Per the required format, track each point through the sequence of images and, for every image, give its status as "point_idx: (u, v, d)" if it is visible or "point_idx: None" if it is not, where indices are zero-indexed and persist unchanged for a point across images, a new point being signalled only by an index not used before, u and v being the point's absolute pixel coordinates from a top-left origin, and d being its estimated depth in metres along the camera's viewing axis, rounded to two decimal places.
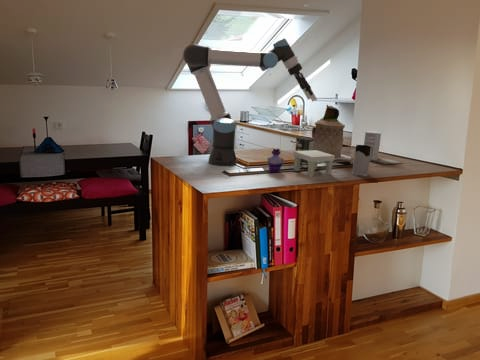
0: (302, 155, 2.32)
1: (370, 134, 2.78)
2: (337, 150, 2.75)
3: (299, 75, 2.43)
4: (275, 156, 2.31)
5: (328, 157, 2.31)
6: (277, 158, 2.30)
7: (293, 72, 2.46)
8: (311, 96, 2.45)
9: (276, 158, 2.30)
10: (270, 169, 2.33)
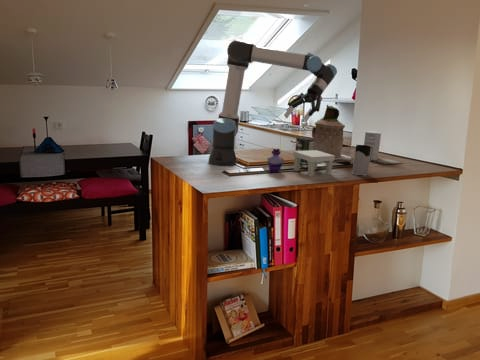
0: (302, 155, 2.32)
1: (370, 134, 2.78)
2: (337, 150, 2.75)
3: (320, 96, 2.35)
4: (275, 156, 2.31)
5: (328, 157, 2.31)
6: (277, 158, 2.30)
7: (317, 90, 2.37)
8: (307, 115, 2.31)
9: (276, 158, 2.30)
10: (270, 169, 2.33)
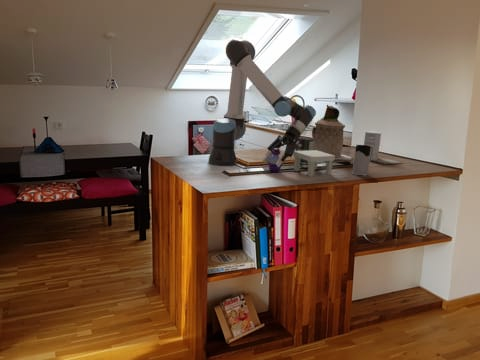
0: (302, 155, 2.32)
1: (370, 134, 2.78)
2: (337, 150, 2.75)
3: (297, 141, 2.31)
4: (275, 156, 2.31)
5: (328, 157, 2.31)
6: (277, 158, 2.30)
7: (295, 133, 2.33)
8: (280, 160, 2.28)
9: (276, 158, 2.30)
10: (270, 169, 2.33)
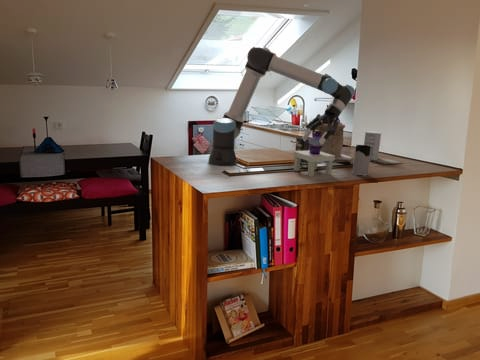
0: (302, 155, 2.32)
1: (370, 134, 2.78)
2: (337, 150, 2.75)
3: (338, 119, 2.31)
4: (317, 138, 2.31)
5: (328, 157, 2.31)
6: None
7: (335, 111, 2.34)
8: (323, 138, 2.28)
9: (318, 140, 2.31)
10: (310, 150, 2.34)
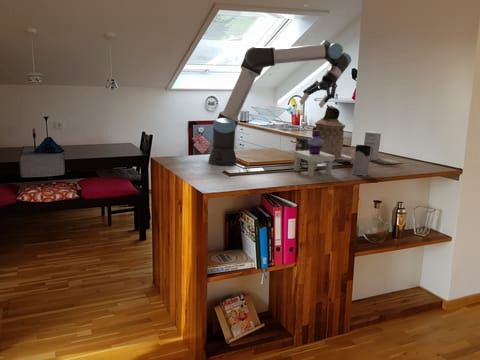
0: (302, 155, 2.32)
1: (370, 134, 2.78)
2: (337, 150, 2.76)
3: (335, 83, 2.40)
4: (316, 138, 2.32)
5: (328, 157, 2.31)
6: (318, 140, 2.31)
7: (332, 78, 2.43)
8: (323, 101, 2.36)
9: (317, 140, 2.31)
10: (310, 151, 2.34)
